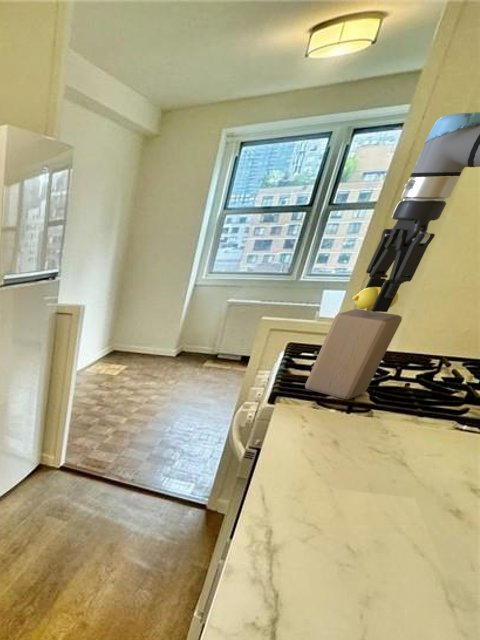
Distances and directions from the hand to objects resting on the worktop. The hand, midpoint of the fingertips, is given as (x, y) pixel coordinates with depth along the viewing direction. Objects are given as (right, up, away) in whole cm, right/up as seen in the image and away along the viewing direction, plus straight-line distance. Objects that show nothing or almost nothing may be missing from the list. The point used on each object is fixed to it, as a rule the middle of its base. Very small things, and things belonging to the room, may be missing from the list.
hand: (372, 308), depth 116 cm
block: (0, -19, +10) cm, 21 cm away
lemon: (0, 0, 0) cm, 0 cm away
